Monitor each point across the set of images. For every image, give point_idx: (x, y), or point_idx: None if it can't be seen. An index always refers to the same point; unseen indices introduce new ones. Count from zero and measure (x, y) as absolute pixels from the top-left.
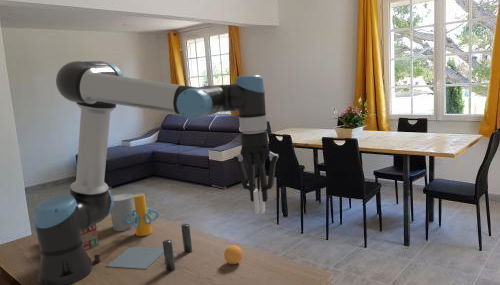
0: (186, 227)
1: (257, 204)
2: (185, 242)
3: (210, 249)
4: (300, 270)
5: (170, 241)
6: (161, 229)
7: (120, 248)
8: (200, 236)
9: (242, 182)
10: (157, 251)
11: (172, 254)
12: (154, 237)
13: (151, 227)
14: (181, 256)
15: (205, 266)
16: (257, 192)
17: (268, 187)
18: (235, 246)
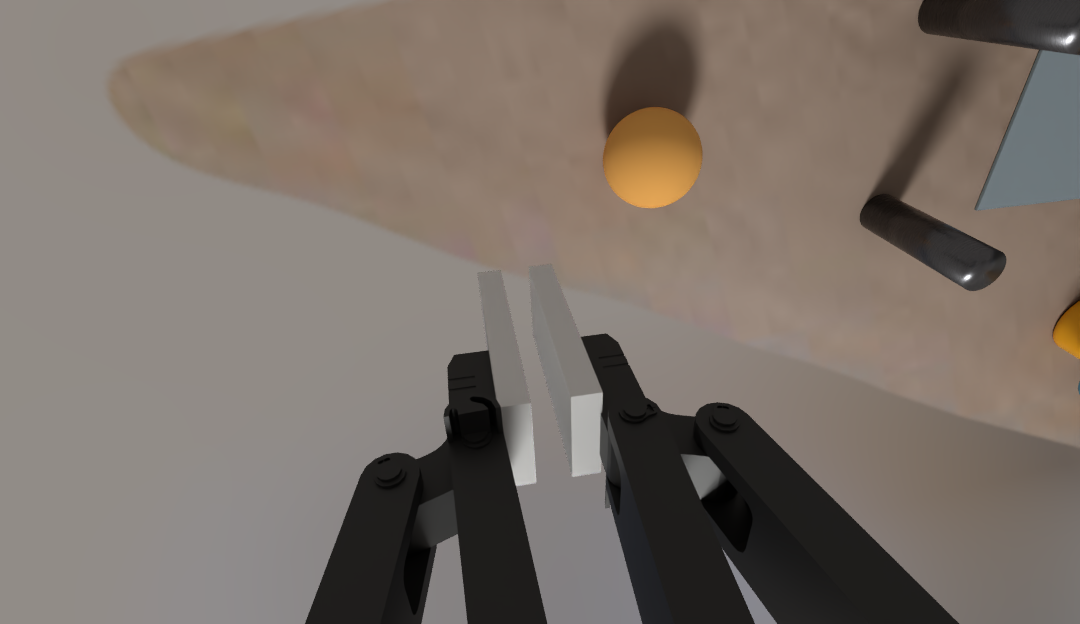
0: (972, 254)
1: (542, 326)
2: (921, 214)
3: (778, 249)
4: (276, 143)
5: (1073, 28)
6: (1013, 363)
7: None
8: (842, 346)
9: (784, 464)
10: (1020, 174)
11: (994, 14)
12: (1038, 296)
13: (1072, 345)
14: (901, 157)
15: (769, 82)
16: (565, 427)
17: (399, 464)
18: (651, 177)
